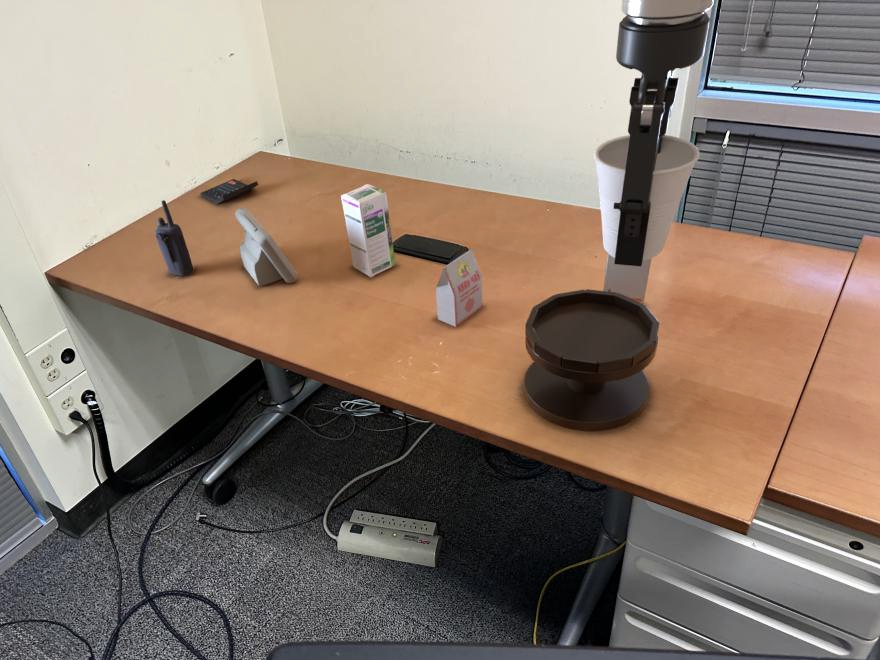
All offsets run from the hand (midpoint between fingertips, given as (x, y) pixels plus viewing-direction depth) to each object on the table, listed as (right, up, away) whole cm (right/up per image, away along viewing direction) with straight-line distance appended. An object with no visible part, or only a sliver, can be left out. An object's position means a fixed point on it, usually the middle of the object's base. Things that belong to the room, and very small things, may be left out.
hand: (633, 242), depth 75 cm
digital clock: (-47, +6, +55) cm, 72 cm away
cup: (0, -1, +1) cm, 1 cm away
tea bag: (-14, -4, +36) cm, 39 cm away
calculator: (-61, +28, +85) cm, 108 cm away
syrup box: (-28, +6, +51) cm, 58 cm away
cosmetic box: (+10, -4, +30) cm, 32 cm away
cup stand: (0, -16, +18) cm, 24 cm away
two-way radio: (-66, +6, +58) cm, 88 cm away
